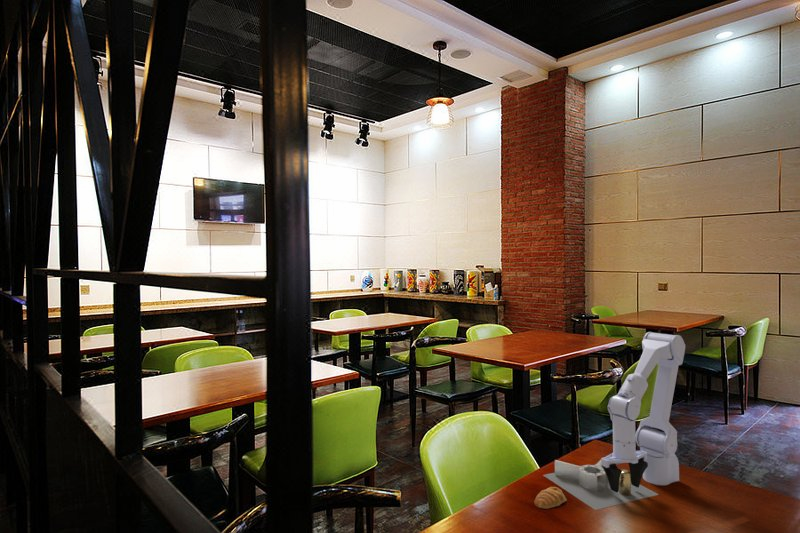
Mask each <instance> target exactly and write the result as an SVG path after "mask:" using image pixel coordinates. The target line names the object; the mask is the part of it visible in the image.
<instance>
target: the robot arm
mask: <svg viewBox="0 0 800 533" xmlns="http://www.w3.org/2000/svg"><path fill="white" fill-rule="evenodd" d="M641 346H642V354H641V356H640V358H639V360H638V363H637V365H636V367H635V370H634V372H633V373H630V374H629V373H628V375H627V376H626V377H625V380H624V382H623V384H621V387H620V388H619V390H618V393H617V394H616V395H613V396H611V397H610V398H609V401H608V404H607V411H608V413H609V415H610V420H611V421H612V451H613V452H612V453H610V454H608V455H605V457H604V458H603V457H601V459H600V460H601V466H602V468H603V469H604V471H605V473H606V475H607V478H608V481H609V484H610V488H611V490H613V491H614V492H618V491H619V479H620V475H621V472H622V469H620V468H618V466H617V465H620V464H625V463H626V464H627V463H628V467H629V471H630V472H631V484H632V485H633V486H635V487H637V488H638V487H639V485H641V482H642V481H641V480H642V479H643V480H644V481H646V482H647V483H649V484H651V485H656V486H668V485H670V484H672V483H675V482H680V467H679V466H680V463H679V459H678V457H677V455H676V454H675V453H676V451H677V449H678V430H677V429H676V428H675V427H674V426H673V425H672V424H671V422H670V416H671V410H672V403H673V398H674V393H675V390H676V389H675V387H676V382H677V376H678V370H679V366H682V365H683V362H684V357H685V352H686V344H685V341H684V339H683V337H682V336H681V335H680V334H674V335H673V334H668V333H659V332H652V331H648V332H646V333H645V334H644V335H643V338H642V341H641ZM656 365H657V366H658V368H657V373H656V378H655V383H654V388H653V393H652V394H653V395H652V399H651V404H650V411H649V416H648V417H646V418H644V419H642V420H641V421H640V422H639V425H638V428H637V430H636V419H637V418H638V417H639V416H640V414H641V413H640V412H641V406H642V402H641V401H642V398H643V397H644V395H645V392H646V391H647V389H648V386H649V384H648V381H647V380H648V378H649V376H650V375H651V373H652V372H653V371H654V369H655V367H656ZM657 429H658V430H657ZM637 446H638V447H639V450H637V449H636V447H637Z"/></svg>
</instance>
